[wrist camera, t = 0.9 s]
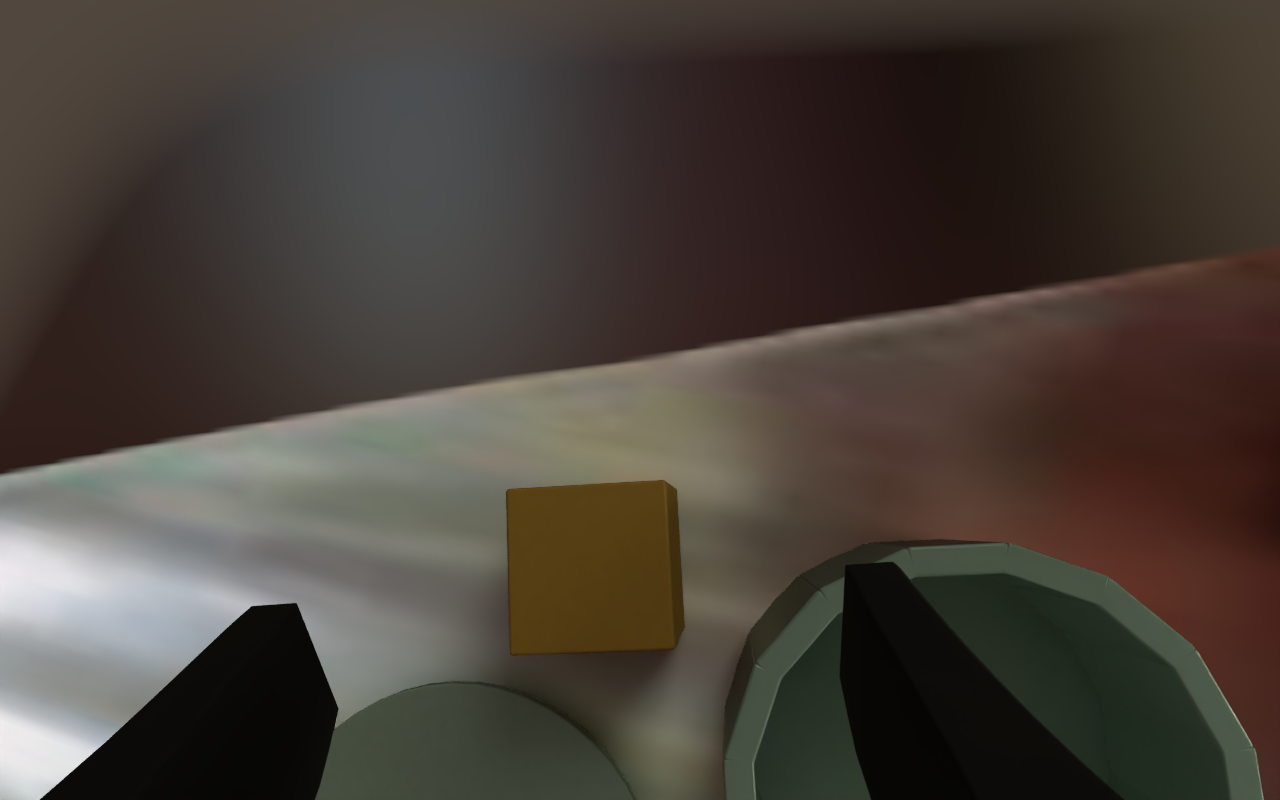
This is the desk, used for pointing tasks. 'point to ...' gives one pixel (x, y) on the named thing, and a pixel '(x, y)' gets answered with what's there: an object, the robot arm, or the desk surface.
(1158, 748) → the bowl
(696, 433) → the desk surface
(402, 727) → the lid
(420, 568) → the desk surface
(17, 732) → the desk surface
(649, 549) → the block
